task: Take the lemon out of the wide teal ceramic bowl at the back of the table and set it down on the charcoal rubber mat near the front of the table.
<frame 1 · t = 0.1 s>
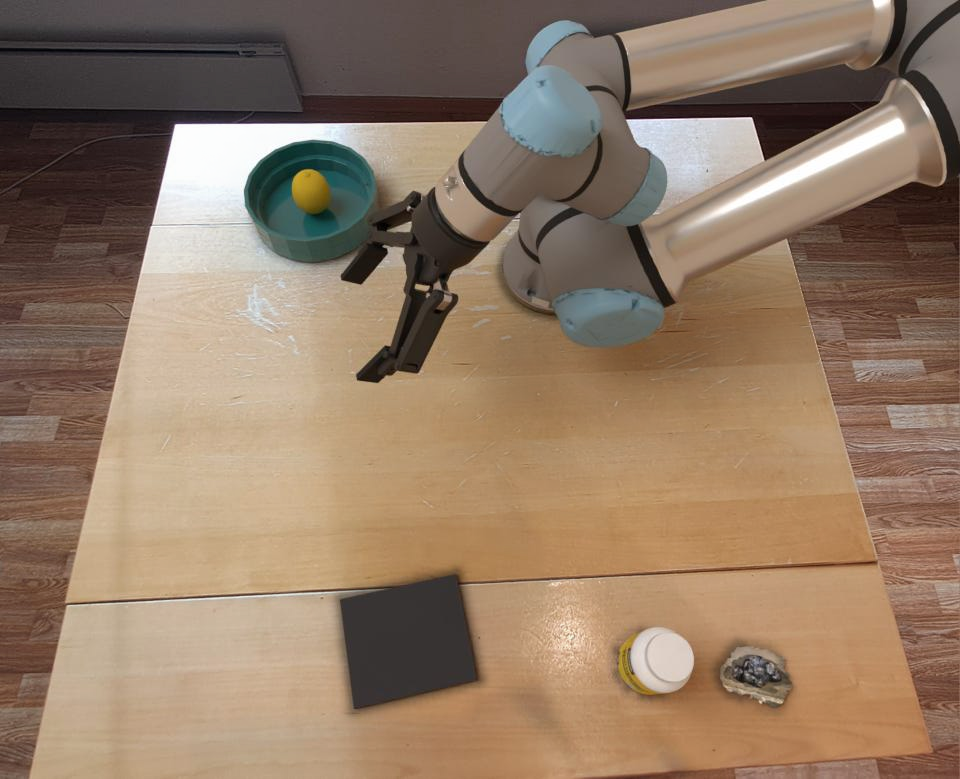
hand: (358, 328, 80), 15 cm above the table, tool tilted 35°, fingers open, 13 cm apart
bowl: (317, 212, 106), on the table
pill bottle: (642, 664, 79), on the table
mineral rock: (752, 677, 79), on the table
mat: (407, 639, 79), on the table
lemon: (316, 211, 106), resting on bowl
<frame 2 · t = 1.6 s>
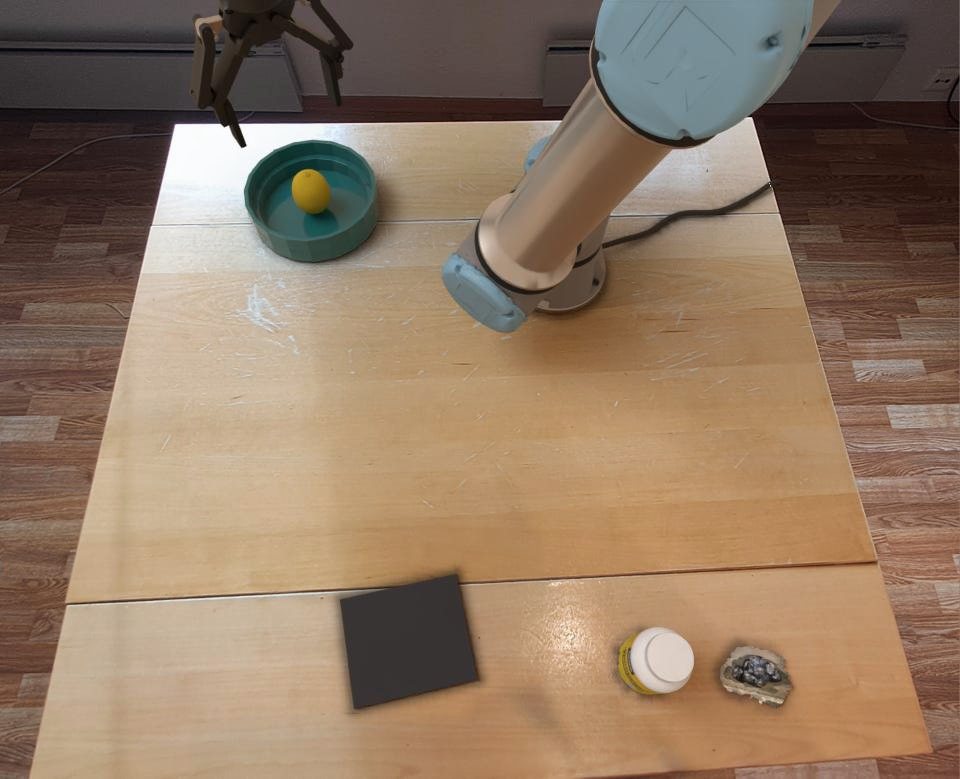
hand: (288, 120, 89), 19 cm above the table, tool pointing down, fingers open, 13 cm apart
nothing on the table moved.
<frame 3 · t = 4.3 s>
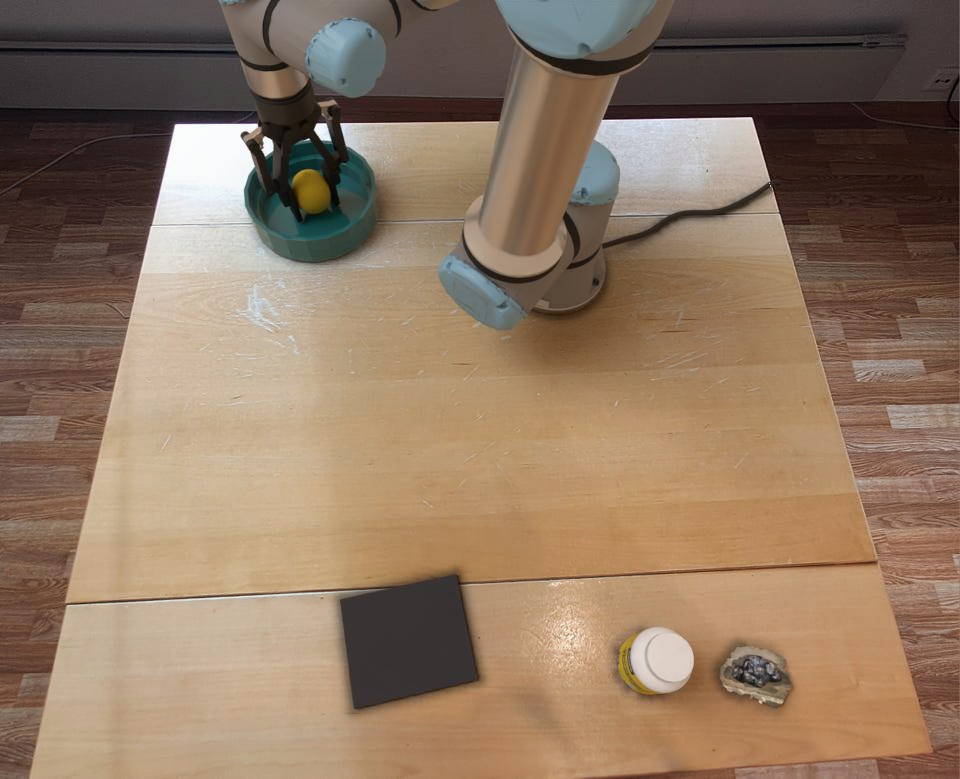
hand: (315, 207, 105), 1 cm above the table, tool pointing down, fingers closed on lemon, 6 cm apart
lemon: (316, 211, 106), resting on bowl, touching gripper
everything else where it was.
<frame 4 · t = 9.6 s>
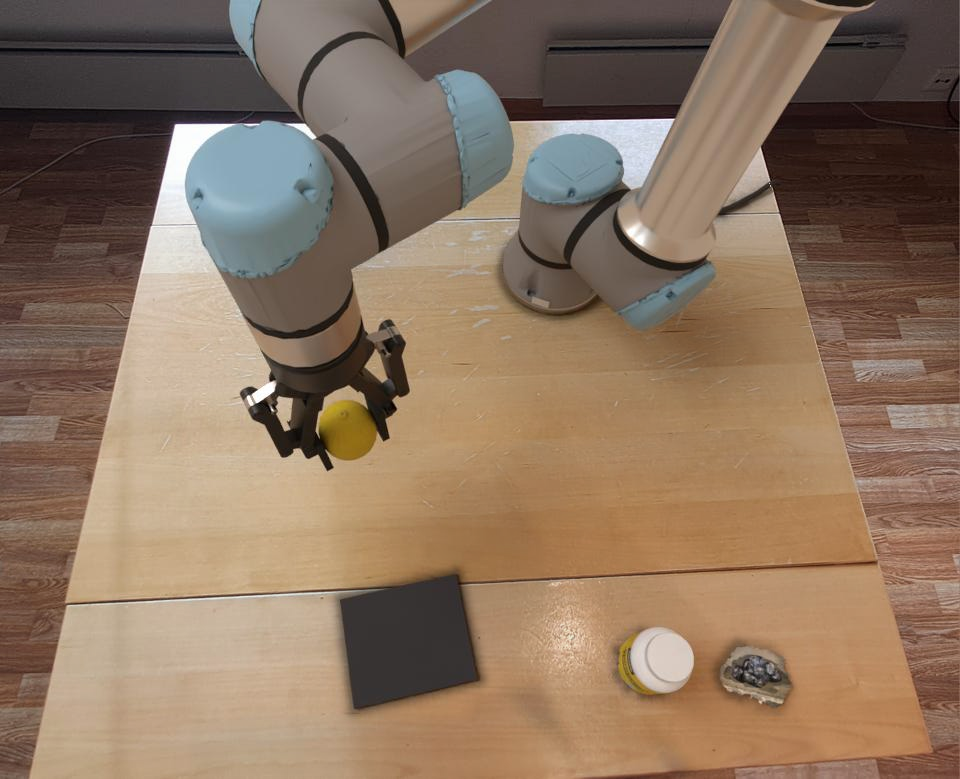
hand: (352, 443, 69), 19 cm above the table, tool pointing down, fingers closed on lemon, 6 cm apart
lemon: (353, 446, 70), point 18 cm above the table, touching gripper
everything else where it was.
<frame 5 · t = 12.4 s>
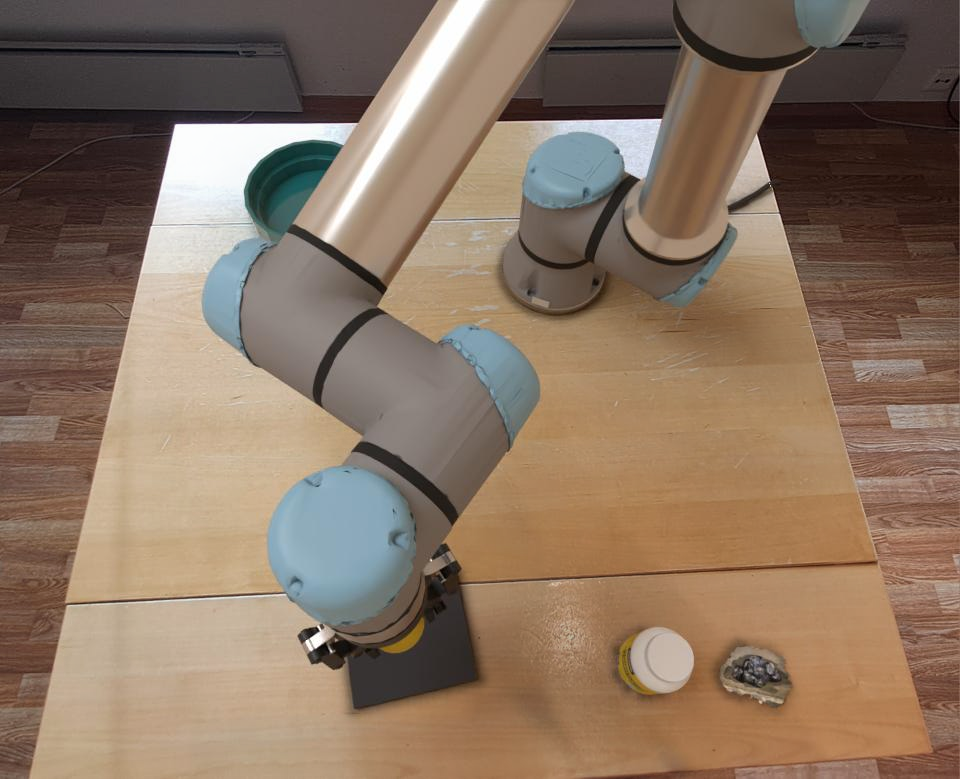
hand: (398, 627, 68), 12 cm above the table, tool pointing down, fingers closed on lemon, 6 cm apart
lemon: (399, 627, 69), point 11 cm above the table, touching gripper
everything else where it was.
when the fingers open (1 cm above the table, at t = 15.1 s): lemon stays where it is, resting on mat.
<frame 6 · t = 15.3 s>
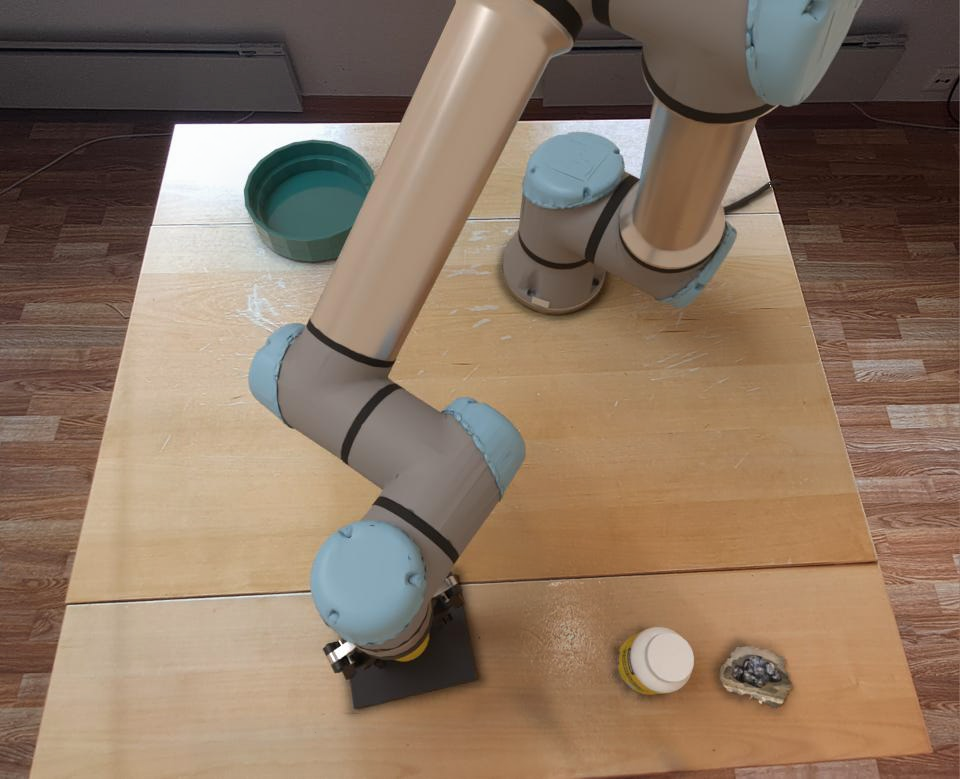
hand: (406, 638, 78), 1 cm above the table, tool pointing down, fingers open, 7 cm apart
lemon: (406, 638, 79), resting on mat
everything else where it was.
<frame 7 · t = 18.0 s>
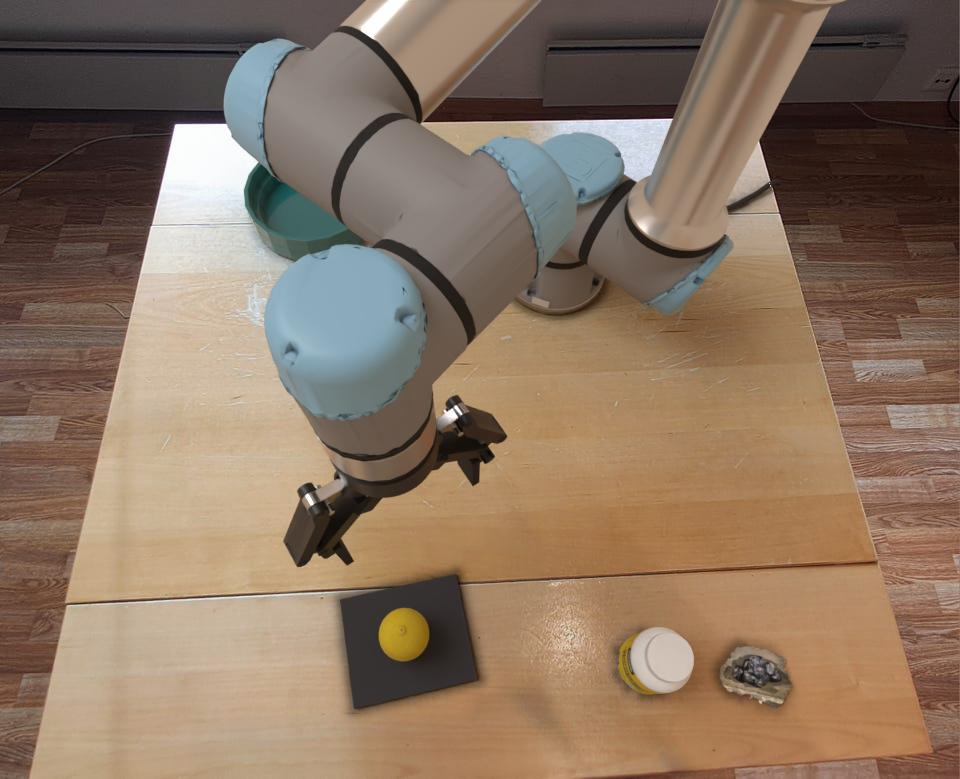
hand: (407, 511, 64), 21 cm above the table, tool pointing down, fingers open, 13 cm apart
nothing on the table moved.
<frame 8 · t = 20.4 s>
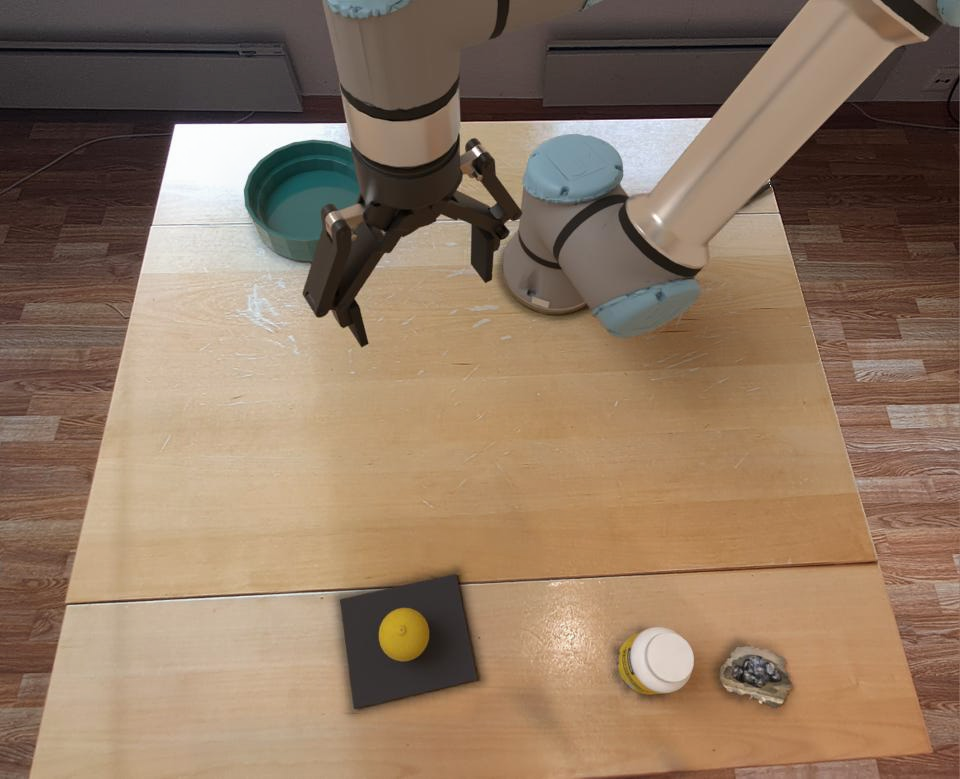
hand: (421, 302, 65), 29 cm above the table, tool pointing down, fingers open, 13 cm apart
nothing on the table moved.
at the end: lemon inside the target area on the mat (0.1 cm from its centre), point 0.4 cm above the mat's base; the gripper is holding nothing; lemon touching mat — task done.
